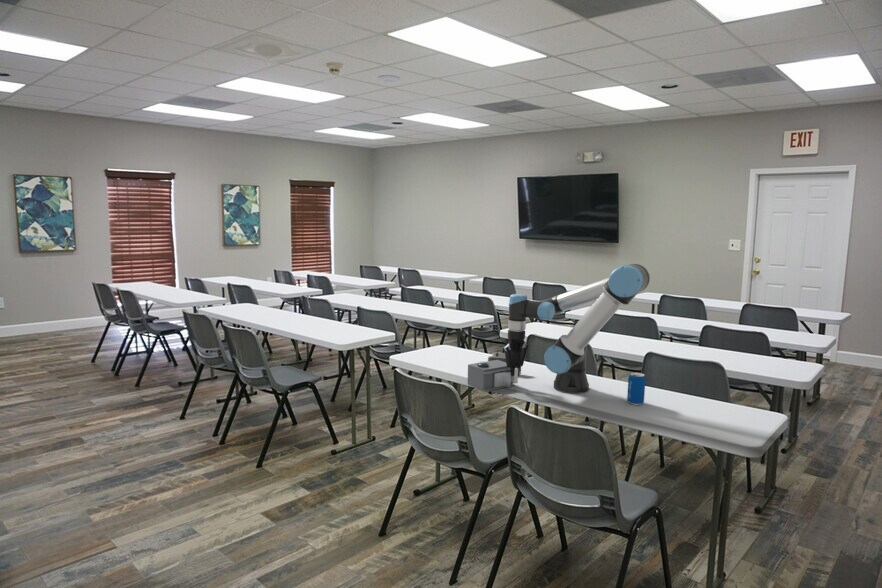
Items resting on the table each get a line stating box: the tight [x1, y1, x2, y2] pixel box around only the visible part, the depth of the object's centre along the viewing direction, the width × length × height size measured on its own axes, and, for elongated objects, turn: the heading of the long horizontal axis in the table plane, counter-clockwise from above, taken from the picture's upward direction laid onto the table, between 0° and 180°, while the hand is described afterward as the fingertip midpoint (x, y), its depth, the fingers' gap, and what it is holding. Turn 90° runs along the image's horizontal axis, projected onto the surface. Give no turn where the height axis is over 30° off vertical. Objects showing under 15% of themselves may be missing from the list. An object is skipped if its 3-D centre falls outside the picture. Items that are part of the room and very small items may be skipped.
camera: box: [487, 351, 522, 375], centre depth 272 cm, size 9×16×10 cm, turn 86°
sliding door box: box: [467, 360, 515, 392], centre depth 250 cm, size 12×17×11 cm
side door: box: [493, 371, 511, 388], centre depth 245 cm, size 3×7×6 cm, turn 125°
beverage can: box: [626, 372, 647, 406], centre depth 228 cm, size 6×6×12 cm
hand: (514, 382), depth 247 cm, fingers closed
